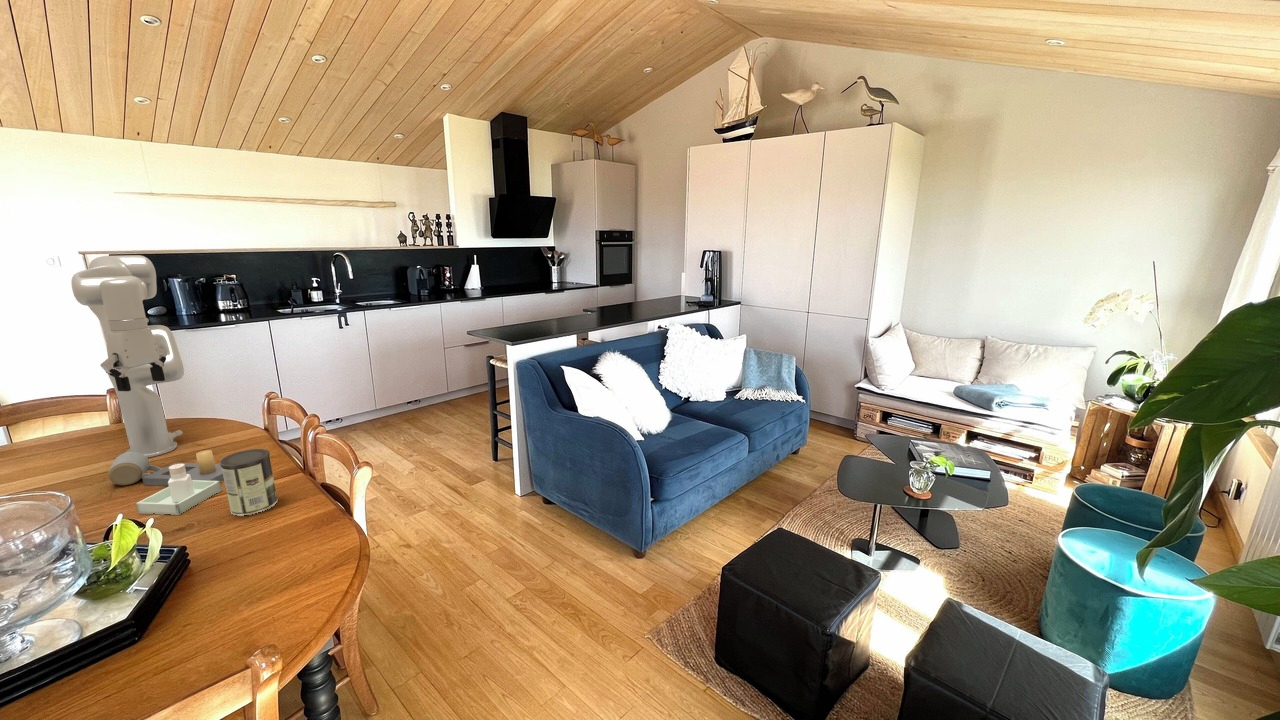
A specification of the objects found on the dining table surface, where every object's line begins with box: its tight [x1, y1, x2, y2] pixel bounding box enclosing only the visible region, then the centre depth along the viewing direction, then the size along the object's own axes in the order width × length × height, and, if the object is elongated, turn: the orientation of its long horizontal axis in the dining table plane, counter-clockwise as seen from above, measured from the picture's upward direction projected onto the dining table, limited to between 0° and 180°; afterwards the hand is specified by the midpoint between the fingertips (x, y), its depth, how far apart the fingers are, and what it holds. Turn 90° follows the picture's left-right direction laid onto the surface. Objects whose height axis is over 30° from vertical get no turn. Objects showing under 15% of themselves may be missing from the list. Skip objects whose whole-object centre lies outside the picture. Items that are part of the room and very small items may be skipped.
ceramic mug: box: [108, 452, 162, 486], centre depth 150 cm, size 11×8×8 cm
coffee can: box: [219, 448, 279, 517], centre depth 135 cm, size 10×10×14 cm
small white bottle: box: [168, 464, 194, 502], centre depth 138 cm, size 4×4×10 cm
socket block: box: [141, 449, 224, 487], centre depth 151 cm, size 10×20×8 cm, turn 87°
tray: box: [135, 480, 223, 516], centre depth 139 cm, size 13×11×3 cm
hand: (142, 385), depth 145 cm, fingers open, 9 cm apart
